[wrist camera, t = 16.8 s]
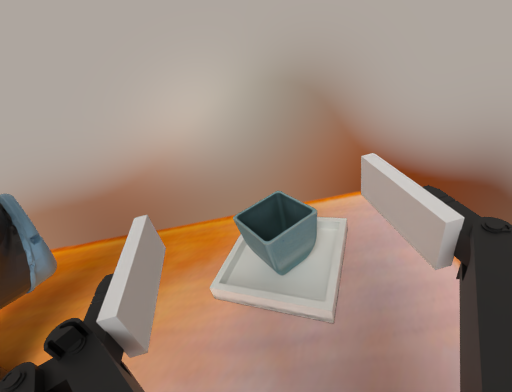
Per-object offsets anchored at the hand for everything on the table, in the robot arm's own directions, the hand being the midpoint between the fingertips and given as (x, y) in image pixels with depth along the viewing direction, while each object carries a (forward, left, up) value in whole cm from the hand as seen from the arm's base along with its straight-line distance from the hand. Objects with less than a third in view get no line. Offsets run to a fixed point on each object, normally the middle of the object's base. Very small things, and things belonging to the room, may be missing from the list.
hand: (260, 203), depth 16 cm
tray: (-7, +15, -23) cm, 28 cm away
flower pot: (-7, +15, -22) cm, 28 cm away
